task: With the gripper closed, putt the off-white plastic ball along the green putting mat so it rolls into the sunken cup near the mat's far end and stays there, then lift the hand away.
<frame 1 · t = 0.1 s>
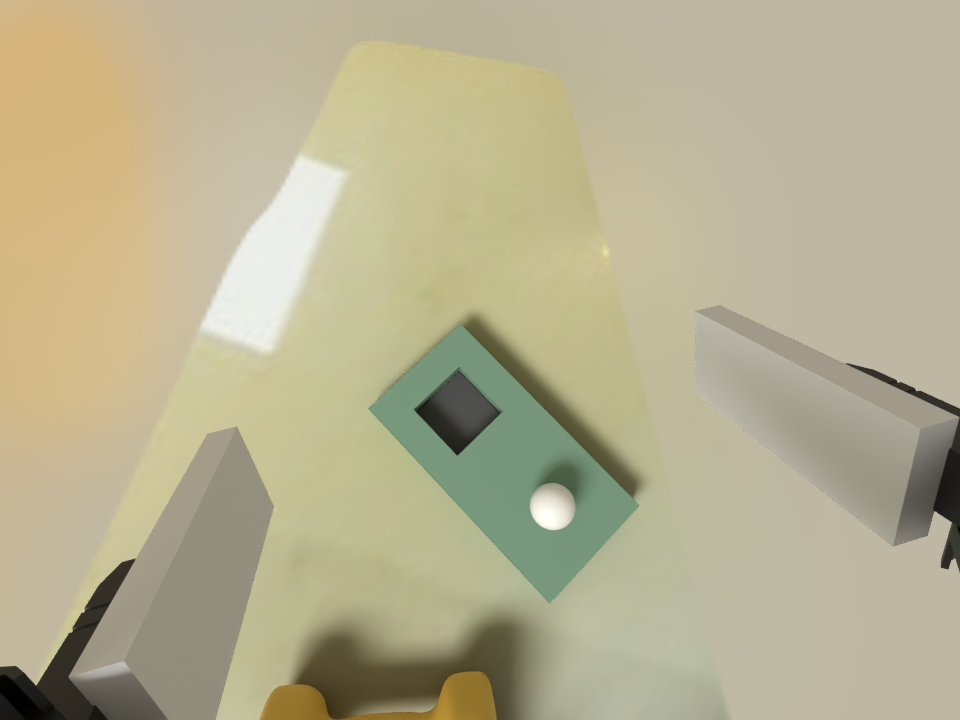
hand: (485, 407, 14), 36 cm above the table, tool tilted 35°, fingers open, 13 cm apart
ball: (552, 506, 44), point 4 cm above the table, touching green
dumbbell: (387, 713, 45), on the table
green: (500, 456, 49), on the table
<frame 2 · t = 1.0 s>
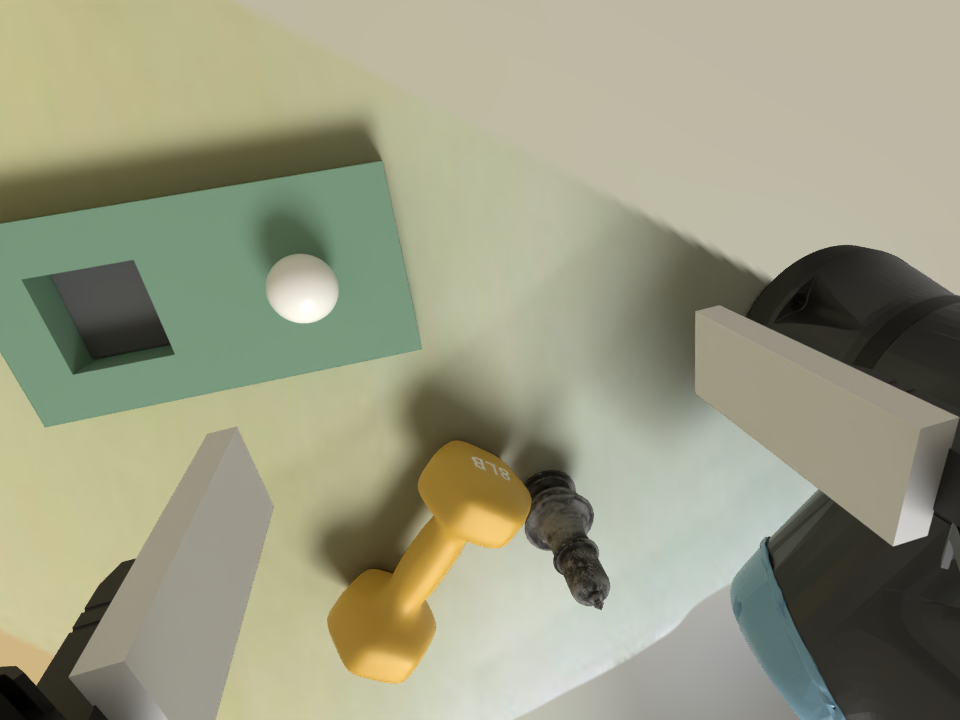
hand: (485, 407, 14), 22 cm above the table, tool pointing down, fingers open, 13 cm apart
ball: (302, 288, 29), point 4 cm above the table, touching green
dumbbell: (423, 522, 43), on the table
green: (219, 288, 32), on the table
dark grey chess piece: (545, 494, 44), on the table
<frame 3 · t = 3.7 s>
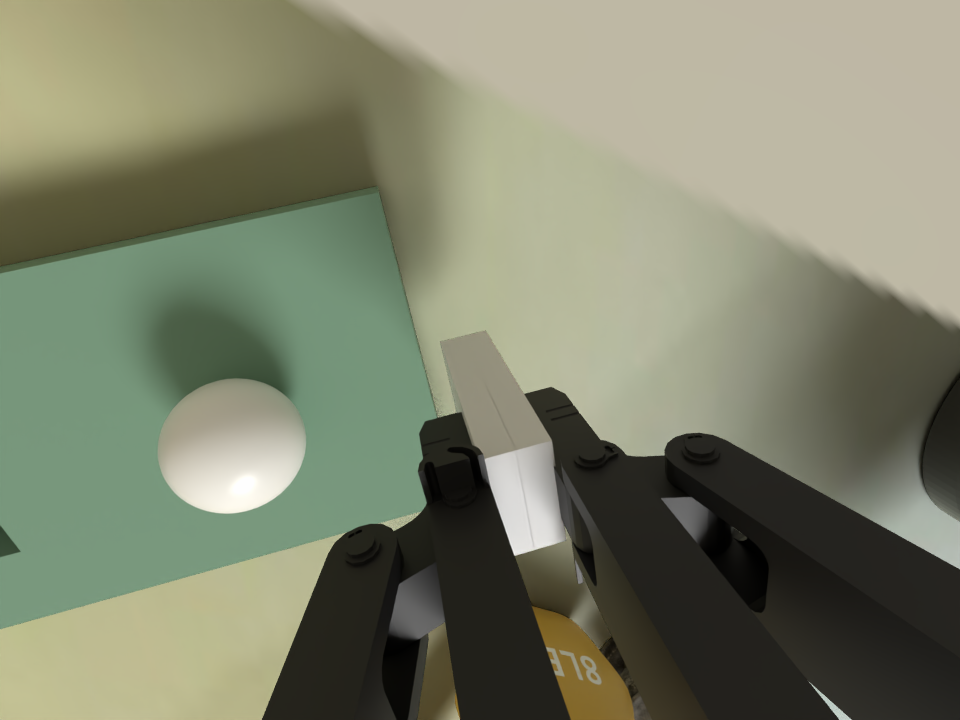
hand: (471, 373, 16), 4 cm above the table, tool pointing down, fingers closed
ball: (236, 444, 15), point 4 cm above the table, touching green
dumbbell: (459, 704, 29), on the table
green: (103, 421, 19), on the table
dark grey chess piece: (634, 651, 30), on the table
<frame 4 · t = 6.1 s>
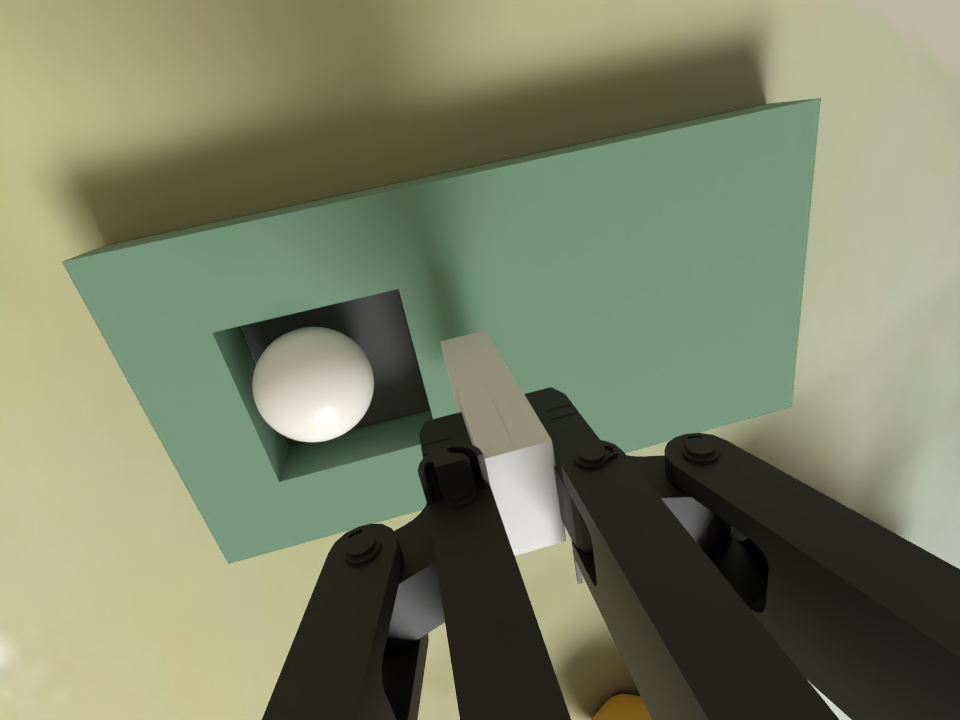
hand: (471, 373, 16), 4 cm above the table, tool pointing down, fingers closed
ball: (315, 384, 17), point 2 cm above the table, tilted 22°, touching green
dumbbell: (690, 629, 31), on the table
green: (487, 326, 20), on the table
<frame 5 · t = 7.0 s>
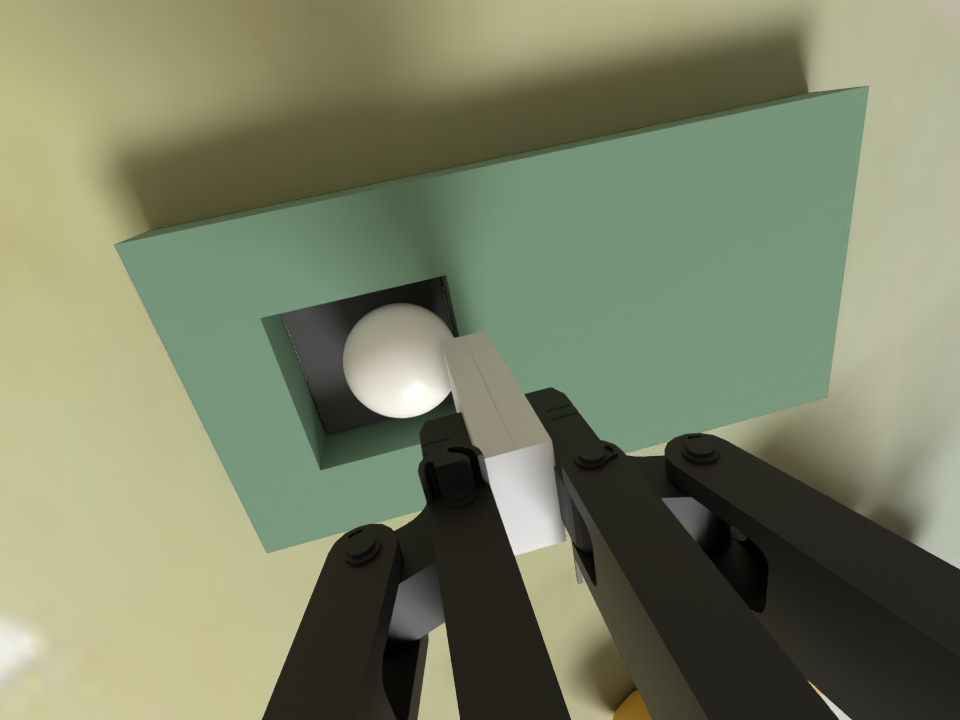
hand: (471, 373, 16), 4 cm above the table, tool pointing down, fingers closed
ball: (402, 360, 17), point 2 cm above the table, tilted 21°, touching green, gripper
dumbbell: (714, 622, 31), on the table
green: (526, 315, 20), on the table
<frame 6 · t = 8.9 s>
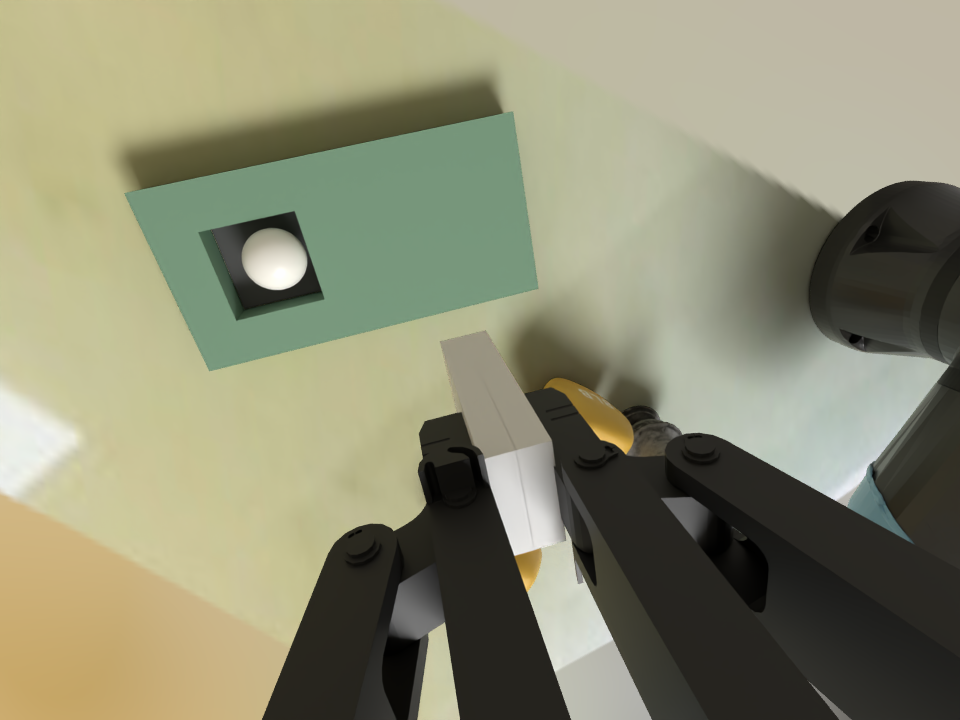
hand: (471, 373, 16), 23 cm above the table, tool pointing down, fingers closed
ball: (275, 259, 33), point 2 cm above the table, tilted 18°, touching green
dumbbell: (522, 459, 47), on the table
green: (356, 239, 36), on the table
dark grey chess piece: (633, 429, 48), on the table
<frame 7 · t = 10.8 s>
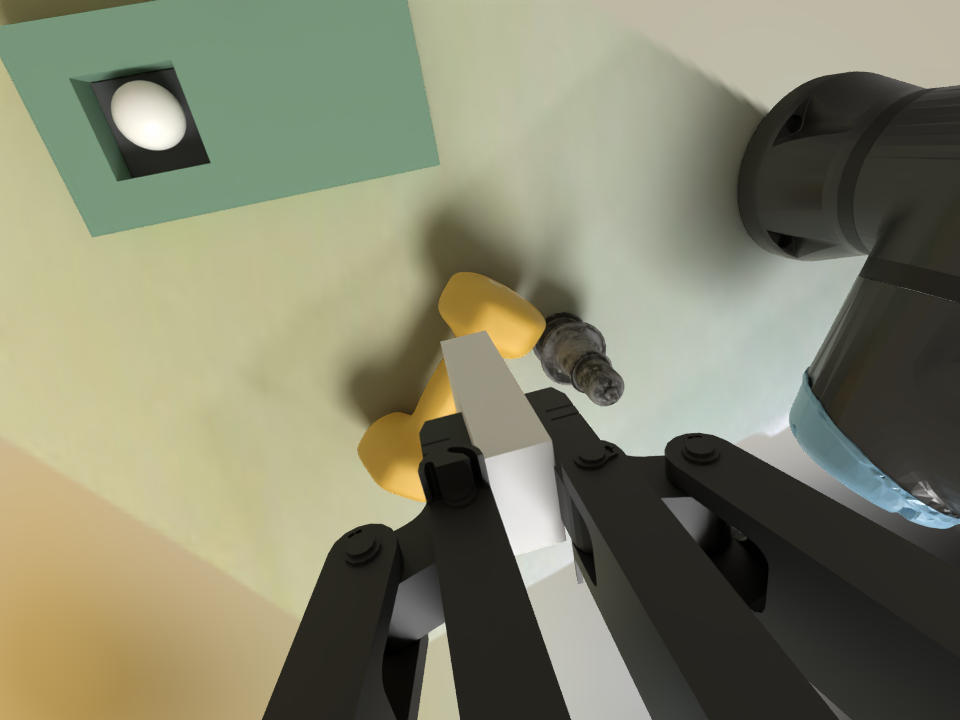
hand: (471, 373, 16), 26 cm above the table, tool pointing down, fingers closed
ball: (149, 116, 32), point 2 cm above the table, tilted 8°, touching green
dumbbell: (443, 367, 45), on the table
green: (248, 107, 34), on the table
dark grey chess piece: (559, 339, 46), on the table
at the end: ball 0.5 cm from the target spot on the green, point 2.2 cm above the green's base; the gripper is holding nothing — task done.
